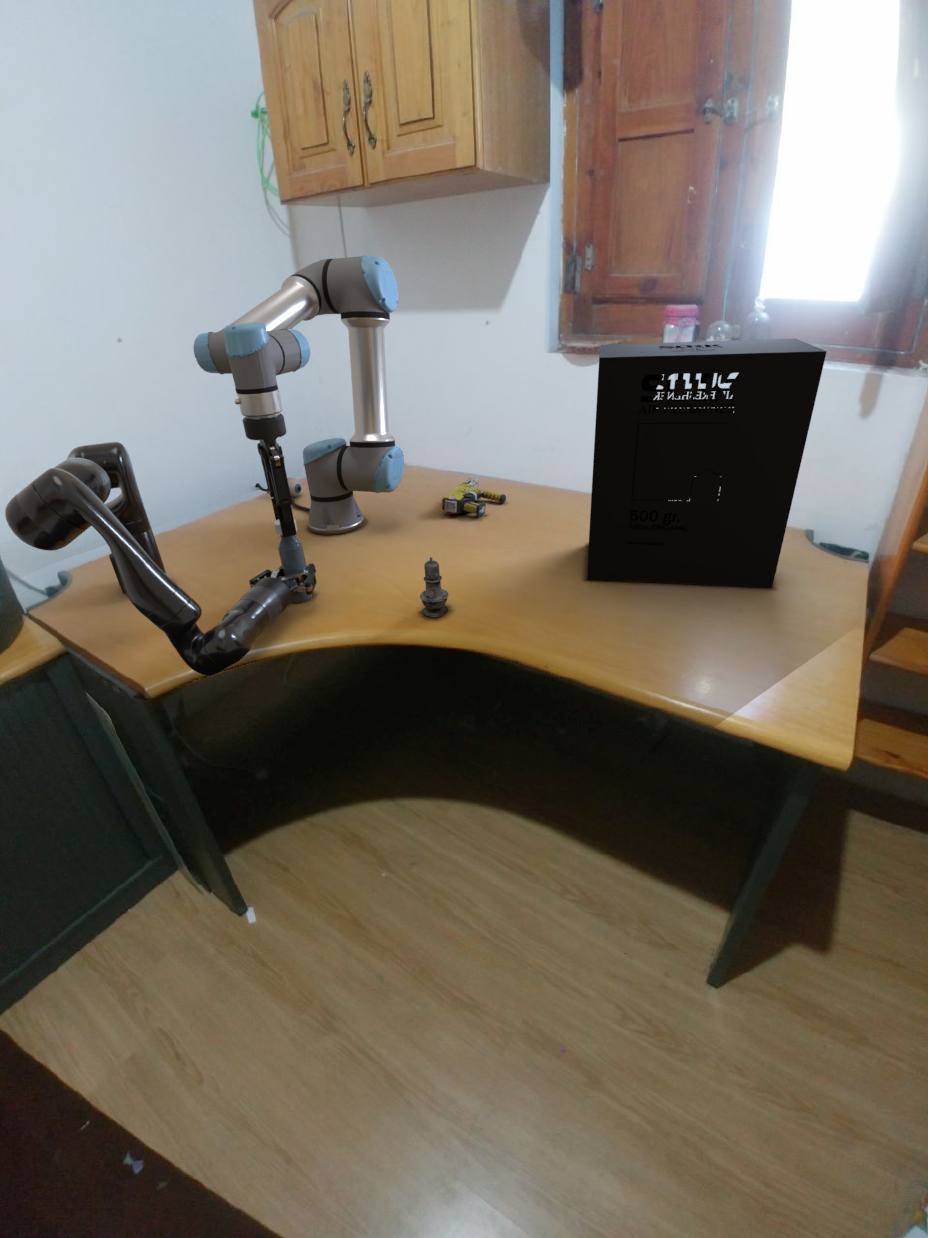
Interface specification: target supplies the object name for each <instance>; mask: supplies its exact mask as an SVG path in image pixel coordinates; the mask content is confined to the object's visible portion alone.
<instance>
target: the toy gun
mask: <svg viewBox="0 0 928 1238" xmlns="http://www.w3.org/2000/svg"><path fill="white" fill-rule="evenodd" d="M477 485H479V479H478V478H474V479H473V477H469V478H467V480H466V481H464V482H462V483H460V484H459V485H458V486H456V488H454V489H453V490H451V491H450V492H449V493H448V494H446V495H445V496H444V497H443V498H442V499H441V510H442V511H443V512H444V513H446V514H448V515H453V514H457V515H458V514H462V513H471V514H475V515H476V518H480V517H482V516H483V515H485V514H486V504H487V503H486V502H484V501H482V502H480V501H479V500H480V499H481V498H483V499H485V500H486V499H487V500H491V501H494V502H498V503H501V504H503V503H505V502H506V500H507V495H505V494H504V493H498V492H497V493H496V492H492V491H488V490H483V491H482V492H481V490H480V488H479V486H477Z"/></svg>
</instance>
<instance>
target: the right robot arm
mask: <svg viewBox="0 0 928 1238" xmlns="http://www.w3.org/2000/svg"><path fill="white" fill-rule="evenodd" d="M398 303H399V289H398V283H397V280H396V277H395V274H394V271H393V270H392V267H391V266H390V264H389V262H388V261H387V260H386V259H385V258H384V257H381V256H379V255H359V256H349V257H338V258H336V257H335V258H323V259H319V260H316V261H315V262H312V263H310V264H308V265H307V266H304V267H303V268H301V269H299V270H298V271H296V272H294V273H293V274H291V275H290V276H288V277H287V278H285V279H284V280H283V282H282V283H281V286H280V289H278V290H277V291H275V292H274V293H273V294H272V295H270V296H269V297H267V298H266V299H264V300H262V301H261V302H260V303H259V304H256V306H254V307H252V308H251V309H249V310H248V311H247V312H245V313H244V314H243V315H241V316H240V317H238V318H237V319H236V320H234V321H233V322H231V323H230V324H227V325H226V326H224V327H223V328H222V329H221V330H219V331H216V332H215V331H208V332H204V333H200V334H198V335H197V336H196V337H195V339H194V341H193V356H194V358H195V360H196V363H197V365H198V366H199V368H201V369H202V370H203V371H204V372H206V373H208V374H220V375H226V374H227V375H230V374H231V375H232V378H233V383H234V389H235V392H236V393H235V394H236V396H237V397H238V398H235V399H234V404H235V405H237V406H238V405H239V410H240V414H241V416H243V419H242V420H241V421H242V425H243V429H244V434H245V437H246V438H247V439H248V440H251V441H259V442H258V443H257V445H256V446H257V447H256V448H257V452H258V455H259V456H260V462H261V465H262V469H263V473H264V478H265V482H266V488H265V487H262V486H261V484H260V483H257V482H256V483H255V485H254V487H255V488H258V489H259V490H260V491H262V492H267V493H269V496H270V498H271V499H270V500H271V505H272V509H273V514H274V518H275V521H276V520H278V519H279V521H280V526H281V530H282V535H283V537H289V536H294V535H295V536H297V535H298V533H297V531H296V528H295V523H294V519H295V518H294V514H293V510H292V506H293V507H295V508H297V509H299V510H303V511H306V512H309V513H308V521H307V522H308V523H307V524H308V528H309V529H308V530H310V531H311V532H312V533H314V534H317V535H323V536H324V535H325V536H327V535H329V536H331V535H339V534H340V535H341V534H345V533H350V532H353V531H355V530H357V529H359V528H361V527H362V526H363V525H364V523H365V519H364V514H363V512H362V510H361V508H360V505H359V504H358V501H357V500H356V498H355V495H354V492H367V493H375V494H381V493H392V492H394V491H396V490H397V488H398V487H399V485H400V484H401V481H402V479H403V476H404V472H405V455H404V452H403V450H402V449H401V448H400V447H399V446H396V438H395V437H394V436H393V435H392V434H391V433H390V429H389V413H388V412H389V411H388V410H389V409H388V389H387V366H386V365H387V364H386V347H385V329H386V327H387V326H388V325H389V324H390V322H391V315H390V314H391V313H393V312H395V311H396V310H397V308H398ZM322 315H340V321H341V323H342V324H343V325H344V326H345V327H346V329H347V331H348V348H349V349H348V350H349V364H350V379H351V394H352V395H351V396H352V409H353V426H354V433H353V435H352V436H351V437H350V438H349V445H347V441H346V439H345V438H342V437H334V438H328V439H323V440H320V441H319V440H318V441H315V442H313V443H309V444H308V445H306V446H305V447H304V448H303V450H302V457H303V458H302V460H303V467H304V471H305V477H306V481H307V486H308V492H309V498H310V507H306V506H302V505H299V504H297V503H296V502H295V497H292V496H291V495H290V490H289V485H288V480H287V479H288V474H287V471H286V465H285V456H284V451H283V448H282V446H281V445H279V443H278V442H277V439H279V438H282V437H284V436H285V435H286V434H287V427H286V422H285V421H286V420H285V417H284V415H283V414H282V413H281V412H283V405H282V399H281V395H280V394H281V393H280V389H279V386H278V382H277V376H280V375H283V374H288V373H291V372H293V373H294V372H295V373H296V372H297V371H298V370H300V369H302V368H304V367H305V366H306V365H307V364H308V363H309V361H310V358H311V347H310V344H309V342H308V339H307V337H306V336H305V335H304V334H303V333H302V332H301V331H299V330H297V329H295V327H296V326H297V325H298V324H300V323H301V322H303V321H304V322H305V321H306V322H307V321H311V320H312V319H314V318H315V317H317V316H322Z"/></svg>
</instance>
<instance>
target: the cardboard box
mask: <svg viewBox="0 0 928 1238" xmlns="http://www.w3.org/2000/svg"><path fill="white" fill-rule="evenodd" d="M827 352H828V351H827V350H824V349H822V348H820V347H818V346H815V345H813V344H811V343H808V342H806V341H802V340H801V339H799V338H768V339H766V338H765V339H737V340H736V339H735V340H709V341H708V340H707V341H705V340H703V341H675V342H672V341H671V342H648V343H647V342H646V343H645V342H644V343H643V342H642V343H616V344H615V343H614V344H612V343H611V344H600V348H599V355H598V356H599V358H598V370H597V371H598V372H597V390H596V391H597V392H596V409H595V410H596V411H595V426H594V445H593V459H592V460H593V461H592V462H593V463H592V479H591V497H590V515H589V532H588V533H589V535H588V547H587V548H588V549H587V568H586V580H588V581H611V582H635V583H655V584H657V583H658V584H675V585H676V584H679V585H698V586H699V585H703V586H725V587H743V588H744V587H745V588H746V587H747V588H768V589H773V586H774V582H775V578H776V573H777V569H778V565H779V560H780V555H781V550H782V548H783V543H784V540H785V539H784V538H785V534H786V530H787V525H788V521H789V517H790V513H791V512H790V511H791V509H792V504H793V499H794V496H795V490H796V486H797V483H798V477H799V474H800V469H801V465H802V461H803V456H804V451H805V447H806V444H807V443H806V442H807V439H808V434H809V429H810V425H811V421H812V416H813V412H814V408H815V404H816V400H817V395H818V391H819V387H820V382H821V378H822V373H823V368H824V365H825V360H826V356H827ZM685 374H689V378H688V385H690V388H686V384H687V379H685V378H684V375H685ZM699 374H700V379H699V378H697V375H699ZM715 374H716V380H715V384H714V386H713V383H714V378H715ZM731 374H736V376H735V378H729V377H730V376H731ZM672 375H677V378H676V379H675V380H674V384H673V385H674V387H673V388H671V385H672V379H671V378H670V377H671V376H672ZM719 379H720V381H719ZM700 384H701V385H705V387H704V388H699V385H700ZM719 384H720V385H724V384H729V387H720V386H719ZM659 386H661V387H662V388H658V387H659Z"/></svg>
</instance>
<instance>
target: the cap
mask: <svg viewBox="0 0 928 1238" xmlns="http://www.w3.org/2000/svg"><path fill="white" fill-rule="evenodd" d="M294 523H295V528H296V532H297V531H298V525H297V521H296V519H295V518H294ZM274 529H275V533H276V534H277V535H278V536H280V535H282V530H281V526H280V521H279V519H278V520H276V519H275V521H274Z"/></svg>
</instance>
